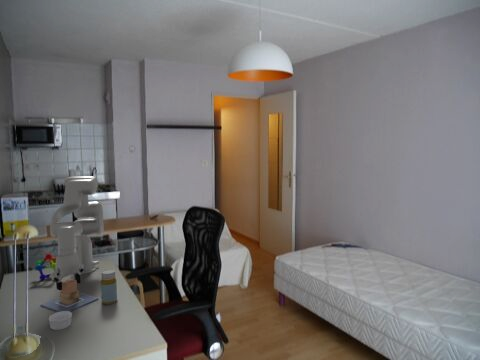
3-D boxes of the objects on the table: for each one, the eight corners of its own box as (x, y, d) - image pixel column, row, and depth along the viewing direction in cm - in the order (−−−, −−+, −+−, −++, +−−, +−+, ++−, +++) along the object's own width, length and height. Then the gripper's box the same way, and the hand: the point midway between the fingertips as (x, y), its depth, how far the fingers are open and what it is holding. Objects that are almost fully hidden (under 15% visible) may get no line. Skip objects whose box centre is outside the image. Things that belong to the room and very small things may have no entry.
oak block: (71, 297, 177) (71, 288, 176) (79, 300, 174) (78, 290, 173) (60, 302, 172) (59, 292, 171) (67, 305, 169) (67, 294, 168)
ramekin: (75, 325, 151) (75, 315, 150) (53, 333, 144) (52, 323, 144) (68, 318, 157) (67, 309, 156) (46, 325, 150) (45, 315, 150)
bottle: (112, 305, 169) (110, 274, 168) (98, 304, 171) (97, 273, 169) (119, 299, 176) (118, 269, 175) (106, 298, 178) (105, 268, 176)
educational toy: (33, 280, 206) (31, 254, 205) (58, 275, 213) (56, 250, 213) (38, 285, 193) (36, 257, 193) (64, 280, 201) (62, 253, 201)
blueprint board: (74, 292, 185) (74, 290, 185) (97, 299, 176) (97, 297, 176) (40, 305, 169) (40, 304, 169) (64, 314, 161) (64, 312, 160)
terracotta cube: (70, 288, 176) (70, 278, 175) (77, 290, 173) (76, 280, 173) (61, 292, 171) (60, 281, 171) (67, 294, 169) (66, 283, 168)
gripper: (78, 246, 180) (79, 279, 181) (45, 255, 165) (47, 291, 166) (88, 248, 176) (89, 281, 178) (55, 257, 161) (56, 294, 163)
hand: (69, 286), depth 172 cm, fingers open, 9 cm apart
